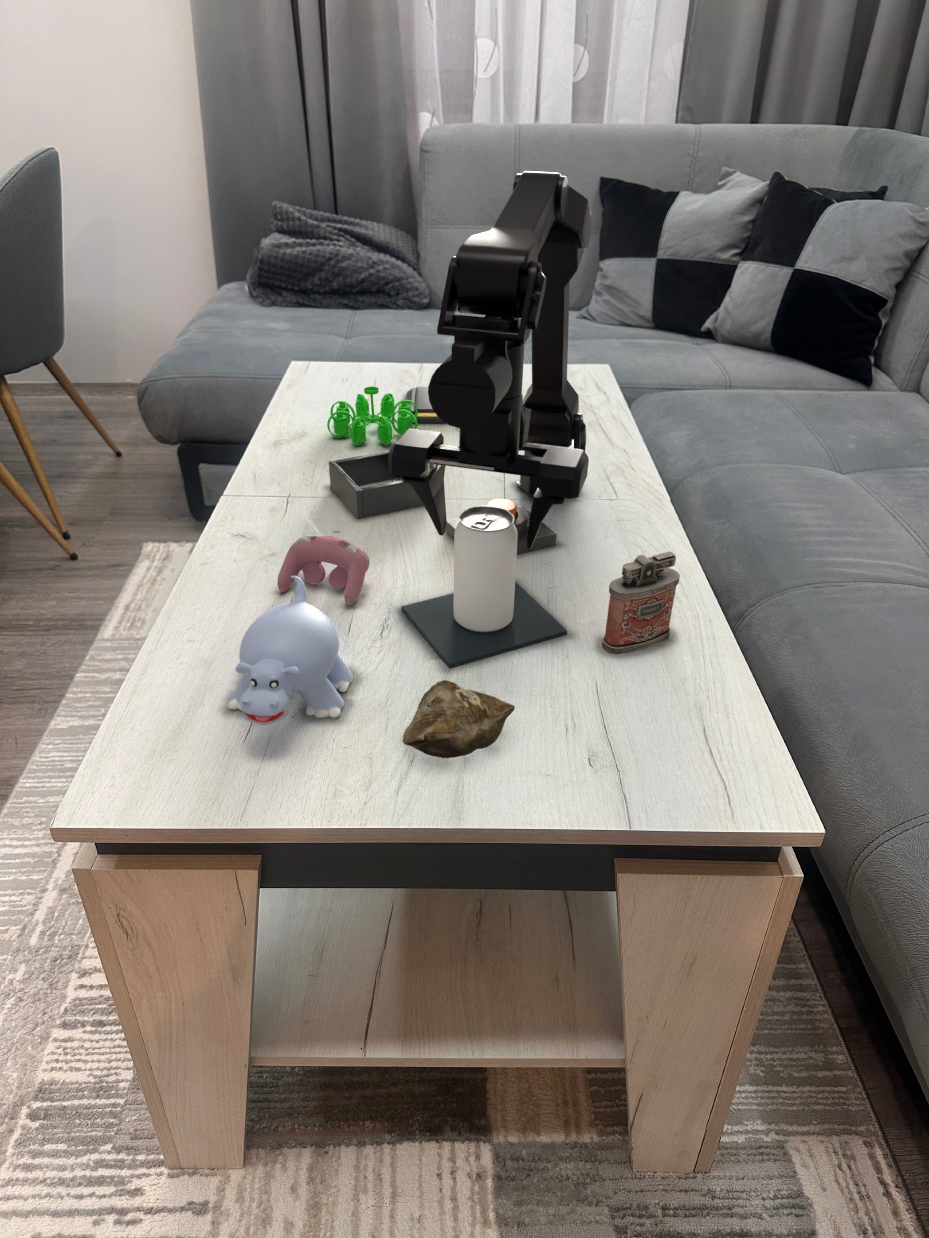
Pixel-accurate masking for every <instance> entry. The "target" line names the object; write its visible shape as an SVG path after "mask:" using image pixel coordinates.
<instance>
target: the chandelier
mask: <svg viewBox="0 0 929 1238" xmlns="http://www.w3.org/2000/svg"><path fill="white" fill-rule="evenodd" d="M363 393H364V394H365V395H369V396H370V403H369V402H368V399H367V398H366V397H365V395H364V394H363ZM363 393H357V395H356V400H355V404H354V406H355V410H354V408H353V406H352V405H351V404H350V403H349V402H347V401H345V400H338V401H336V402H334V403H333V404H332V405H331V407H330V416H329V417H328V419H327V424H326V426H327V430H328V433H330V434H331V435H332V436H333V437H335V438H339V439H340V438H341V439H342V438H346V437H348V436H349V435H350V440H351V443H352V444H353V445H354V446H361V445H362V444H363V443H364V442H365V441H366V439H367V433H366V431H367V426H368V425H369V424H377V425H378V426H377V438H378V441H379V442H381V443H383V444H384V445H385V446H387V445H390V444H391V443H392V440H393V430H394V432H396V434H398V435H399V436H402V435H403V434H404V433H405V432H406V431H407V430H408V429H409V428H410V429H412V425H413V424H414V429H418V424H417V420H416V418H417V415H418V409H417V406H416V405H415V404H414V403H413V402H412V401H410V400H406V399H402V400H399V401H398V402H397V403H396V404H395V398H394V396H393V393H389V392H386V393H385V394H384V395H383V396H382V398H381V399H380V401H381V402H380V411H378V413H377V414H375V406H374V395H377V394H379V387H377V386H366V387H365V388H364V389H363ZM407 402H411V403H412V404H413V405H414V406H415V409H416V413H415V416H414V415H413V414H412V409H411V408H410V405H409V404H407ZM337 404H338V405H337ZM336 405H337V406H336ZM335 406H336V410H335V411H334V407H335ZM370 406H371V407H370ZM397 408H398V409H397ZM370 409H371V414H370ZM396 409H397V410H396ZM350 411H351V413H350ZM380 415H381V416H380ZM396 415H397V419H396V417H395V416H396ZM412 418H413V420H412ZM331 420H332V421H333V430H334V433H333V432H332V431H331V429H330V424H331ZM413 422H415V423H413ZM395 423H396V425H397V427H396V425H395ZM349 427H350V428H349Z"/></svg>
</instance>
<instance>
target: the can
mask: <svg viewBox="0 0 929 1238" xmlns="http://www.w3.org/2000/svg"><path fill="white" fill-rule="evenodd" d="M458 518H459V522H458V524H457V526H456V528H455V533H454V540H453V593H454V596H453V611H454V618H455V620H456V621H457V622H458V623H459V624H460V625H461V626H462V627H463V628H465V629H467V630H470V631H473V632H480V633H489V632H495V631H498V630H501V629H503V628H504V627H506V626H507V625H508V624H509V623H510V622H511V621H512V618H513V610H514V594H515V582H516V575H517V574H516V573H517V558H518V557H517V556H518V555H517V537H518V534H517V529H516V527H515V525H514V516H513V515H512V514H511V513H510V512H509V511H507V510H505V509H502V508H499V507H494V506H483V505H477V506H471V507H469V508H466V509H464V510H463V511H461V512H460V513H459V515H458Z"/></svg>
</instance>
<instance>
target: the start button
mask: <svg viewBox="0 0 929 1238" xmlns="http://www.w3.org/2000/svg"><path fill="white" fill-rule="evenodd" d="M486 505H487V506H494V507H499V508H502V509H505V510H507V511H509V512H510V513H511V514H512V515H513V516H514V520H515V518H516V506H517V503H516V502H515V501H513V500H511V499H508V498H493V499H490V500H489V501H488V502H487V504H486Z"/></svg>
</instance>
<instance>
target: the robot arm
mask: <svg viewBox="0 0 929 1238" xmlns="http://www.w3.org/2000/svg"><path fill="white" fill-rule="evenodd" d="M512 185H513V186H512V193H511V194H510V196H509V197H508V199H507V201H506V202H505V204H504V206H503V208H502V210H501V211H500V213H499V215H498V216H497V218H496V220H495V221H494V223H493V225H492V227H491V228H490V230H486V231H483V232H479V233H475V234H471V235H470V236H469V237H468V238H467V239H466V240H465V241H464V242H463V243H462V244H461V245H460V246H459V248H458V249H457V252H456V254H455V255H453V256H452V257H451V259H450V260H449V264H448V268H447V274H446V279H445V284H444V289H443V290H444V291H443V295H442V299H441V306H440V310H439V316H438V317H439V318H438V322H437V329H436V334H437V335H439V336H449V337H453V338H454V339H453V343H452V345H451V354H450V355H449V356H447V358H446V359H445V360H444V361H443V362H442V363H441V364H440V365H439V366H438V367H437V368H436V369H435V370H434V372H433V374H432V375H431V378H430V381H429V383H428V385H427V387H428V396H429V401H430V404H431V406H432V409H433V410H434V412H435V413H436V415H437V416H438V417H439V418H440V419H441V420H442V421H444V422H445V423H447V425H449V426H451V427H453V428H456V429H459V431H458V432H459V433H458V434H459V435H458V437H459V439H458V446H455V445H447V444H445V437H444V435H443V433H442V431H441V432H440V431H434V430H425V429H418V428H417V429H415V428H411V429H410V428H409V429H408V430H407V431H406V432H405V433H404V434H403V435H400V437H399V438H397V440H396V441H395V442H394V443H393V445H392V446H390V448H389V450H388V451H389V455H388V461H389V472H390V473H391V474H394V475H401V476H402V482H403V483H406V484H410V485H411V486H412V488H413V489H414V491H415V492H416V494H417V495H418V497H419V498H420V500H421V501H422V503H423V504H424V506H423V507H424V508H425V511H426V512H427V514H428V516H429V518H430V521H432V524H433V525H434V528H435V530H436V532H437V533H438V535H439V536H441V537H443V536H444V535H445V533H446V521H447V506H446V505H447V504H446V493H445V492H446V491H445V473H446V466H447V467H454V468H461V469H469V470H477V471H484V472H492V473H500V474H507V475H515V476H519V480H516V486H517V487H519V488H520V489H521V490H522V491H524V492H525V493H526V494H528V495H529V496H530V497H531V498H532V501H531V507H530V519H529V526H528V532H527V548H528V549H531V547H532V545H533V542H534V540H535V538H536V535H537V533H538V531H539V528H540V526H541V523H542V522H544V519H545V517H546V516H547V514H548V513H549V511H550V510H551V508H552V506H554V505H563V504H565V502H566V500H567V499H576V498H579V497H580V494H581V492H582V489H583V487H584V486H585V485H584V484H585V482H586V480H587V478H588V471H589V463H590V461H589V456H588V454H587V453H586V447H587V446H586V445H587V425H586V423H585V422H584V415H583V412H580V411H579V410H580V401H579V399H580V398H579V394H578V392H577V391H576V390H575V388H574V387H573V385H572V384H571V383H570V381H569V380H568V358H569V357H568V353H569V322H570V321H569V320H570V284H571V283H570V281H571V280H572V279H573V278H574V276H575V274H576V273H577V271H578V269H579V266H580V263H581V262H582V258H583V255H584V252H585V250H587V249H588V248H589V245H590V241H591V240H590V239H591V234H592V218H593V217H592V212H591V206H590V202H589V199H588V198H587V197H585V196H584V195H583V194H582V193H580V192H579V191H577V190H576V189H574V188H573V187H571V186H570V184H569V181H568V177H567V175H562V174H561V173H560V172H552V171H551V172H550V171H535V170H534V171H531V170H524V171H523V172H522V173H519V172H518V173H517V174H515V177H514V180H513V184H512ZM456 311H458V313H460V314H456ZM465 314H466V315H465ZM474 315H475V316H474ZM476 315H478V316H476ZM530 335H531V384H530V385H529V387H528V388H527V390H526V392H525V395H524V397H523V378H524V376H523V375H524V362H525V361H524V359H525V343H526V342H527V341H528V339H529V338H530ZM521 451H523V454H519V453H520V452H521Z"/></svg>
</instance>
